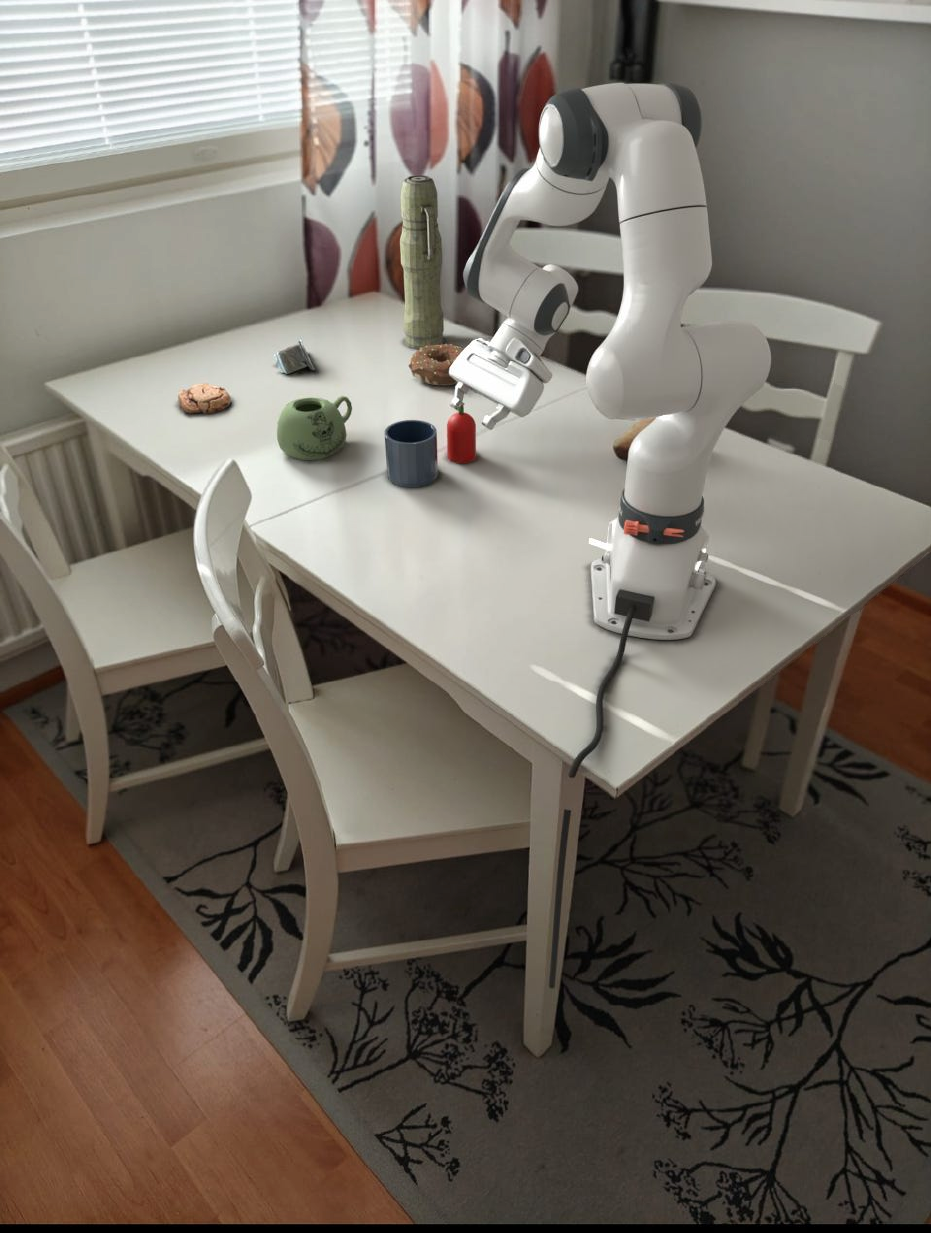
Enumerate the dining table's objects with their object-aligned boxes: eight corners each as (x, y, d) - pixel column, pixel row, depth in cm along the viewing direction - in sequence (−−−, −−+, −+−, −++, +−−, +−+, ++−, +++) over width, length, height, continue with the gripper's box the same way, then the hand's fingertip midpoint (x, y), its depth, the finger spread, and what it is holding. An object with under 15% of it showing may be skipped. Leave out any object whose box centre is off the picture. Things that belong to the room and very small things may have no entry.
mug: (305, 471, 179) (300, 427, 173) (264, 447, 186) (258, 404, 181) (374, 442, 187) (371, 399, 182) (332, 420, 195) (328, 378, 189)
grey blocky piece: (273, 356, 220) (263, 335, 208) (303, 344, 221) (294, 322, 209) (290, 394, 219) (281, 375, 208) (320, 382, 220) (312, 362, 208)
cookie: (226, 414, 197) (223, 400, 195) (172, 414, 197) (169, 400, 195) (236, 393, 205) (234, 379, 203) (185, 393, 205) (182, 379, 203)
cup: (429, 490, 173) (428, 446, 168) (380, 484, 175) (377, 440, 170) (443, 465, 180) (442, 422, 175) (396, 459, 182) (393, 417, 177)
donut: (412, 362, 217) (411, 340, 213) (475, 362, 216) (475, 340, 213) (406, 390, 205) (405, 367, 202) (473, 391, 205) (473, 368, 202)
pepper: (471, 464, 180) (471, 413, 174) (444, 461, 181) (443, 409, 175) (478, 451, 184) (478, 400, 178) (451, 448, 185) (450, 397, 179)
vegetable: (645, 469, 172) (634, 411, 170) (606, 473, 182) (596, 418, 180) (712, 450, 179) (703, 395, 177) (671, 455, 189) (662, 402, 187)
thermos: (427, 329, 231) (421, 168, 210) (454, 345, 223) (452, 180, 202) (394, 337, 227) (385, 174, 206) (421, 354, 220) (414, 187, 198)
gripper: (467, 325, 182) (425, 389, 183) (540, 361, 169) (495, 430, 171) (486, 343, 187) (445, 405, 188) (559, 379, 174) (514, 445, 175)
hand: (469, 417), depth 179 cm, fingers open, 8 cm apart
